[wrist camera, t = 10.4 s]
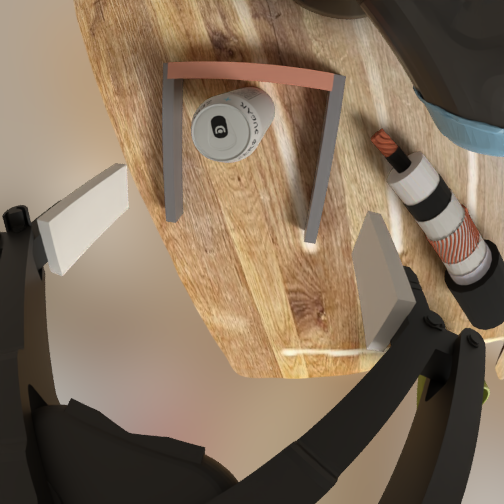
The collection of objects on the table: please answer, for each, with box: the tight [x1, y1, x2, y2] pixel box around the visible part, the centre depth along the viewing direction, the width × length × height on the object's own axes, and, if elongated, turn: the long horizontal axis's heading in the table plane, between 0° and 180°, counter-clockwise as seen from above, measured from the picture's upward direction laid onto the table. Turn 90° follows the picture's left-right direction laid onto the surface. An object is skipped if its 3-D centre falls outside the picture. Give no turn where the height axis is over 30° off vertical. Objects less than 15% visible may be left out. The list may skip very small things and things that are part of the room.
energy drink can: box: [191, 87, 275, 163], centre depth 28 cm, size 6×6×15 cm
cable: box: [371, 129, 504, 330], centre depth 34 cm, size 10×34×10 cm, turn 50°
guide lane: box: [162, 61, 346, 244], centre depth 35 cm, size 22×21×5 cm
